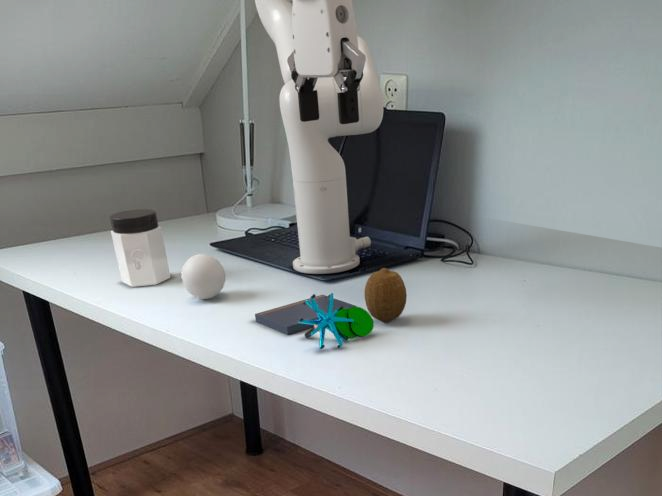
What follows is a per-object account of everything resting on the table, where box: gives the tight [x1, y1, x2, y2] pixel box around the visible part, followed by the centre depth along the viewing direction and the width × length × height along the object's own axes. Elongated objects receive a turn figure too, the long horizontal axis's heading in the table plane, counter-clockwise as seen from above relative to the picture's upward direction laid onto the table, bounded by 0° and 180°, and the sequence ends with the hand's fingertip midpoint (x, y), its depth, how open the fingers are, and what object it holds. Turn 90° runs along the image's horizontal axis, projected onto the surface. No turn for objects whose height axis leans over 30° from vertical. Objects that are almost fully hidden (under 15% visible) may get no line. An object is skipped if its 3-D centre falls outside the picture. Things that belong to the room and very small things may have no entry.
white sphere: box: [171, 253, 226, 300], centre depth 127 cm, size 10×7×7 cm
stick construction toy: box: [298, 292, 375, 351], centre depth 106 cm, size 12×7×8 cm
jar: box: [109, 208, 171, 288], centre depth 137 cm, size 9×8×12 cm
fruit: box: [364, 267, 407, 324], centre depth 110 cm, size 6×6×8 cm
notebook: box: [254, 294, 358, 335], centre depth 116 cm, size 13×9×1 cm
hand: (329, 121), depth 110 cm, fingers open, 9 cm apart
